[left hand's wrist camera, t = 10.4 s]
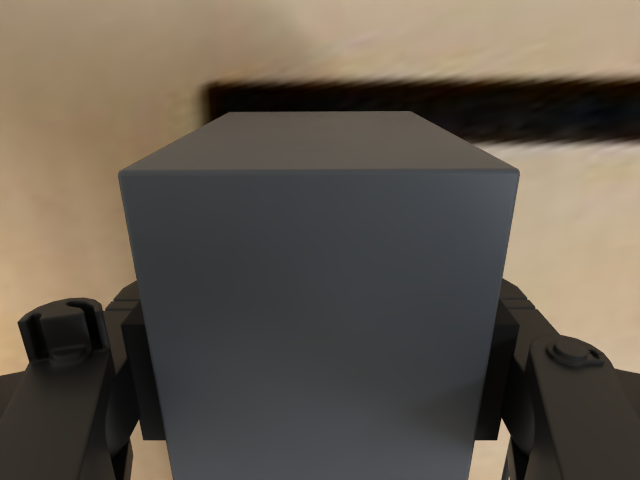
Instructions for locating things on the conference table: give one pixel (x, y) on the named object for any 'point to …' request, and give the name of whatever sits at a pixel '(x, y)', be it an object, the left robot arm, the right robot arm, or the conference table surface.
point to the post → (319, 293)
